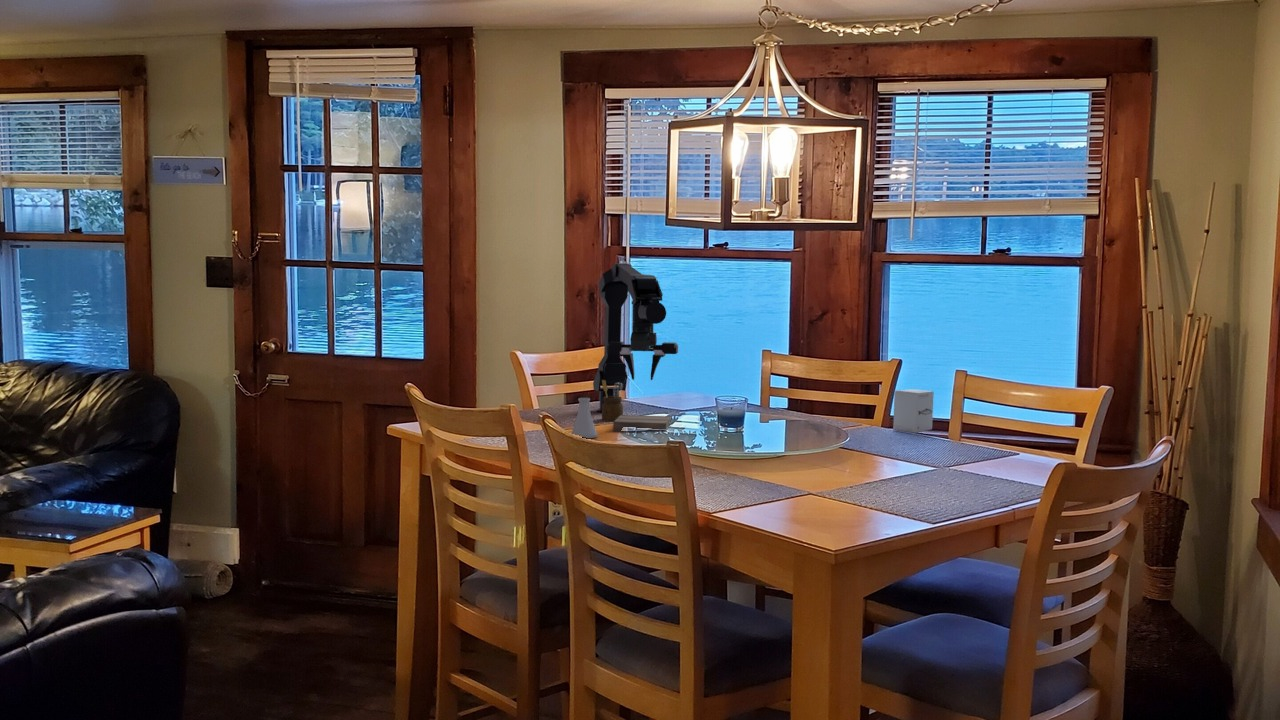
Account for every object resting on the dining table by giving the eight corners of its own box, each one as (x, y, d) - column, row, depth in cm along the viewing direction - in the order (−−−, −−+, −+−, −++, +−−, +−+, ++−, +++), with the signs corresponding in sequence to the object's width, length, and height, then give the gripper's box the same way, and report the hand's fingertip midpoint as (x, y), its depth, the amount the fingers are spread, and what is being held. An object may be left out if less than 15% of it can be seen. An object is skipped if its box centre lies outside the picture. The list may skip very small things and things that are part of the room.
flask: (567, 435, 296) (567, 397, 295) (594, 434, 298) (594, 396, 297) (573, 439, 289) (573, 400, 288) (601, 438, 291) (601, 399, 290)
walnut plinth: (620, 423, 318) (620, 414, 318) (670, 425, 316) (670, 416, 316) (613, 431, 304) (613, 421, 304) (665, 432, 302) (665, 423, 302)
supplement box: (916, 442, 291) (917, 392, 290) (892, 438, 297) (893, 390, 296) (932, 439, 296) (934, 390, 295) (909, 435, 302) (910, 388, 301)
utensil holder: (627, 422, 321) (627, 379, 320) (609, 423, 318) (609, 381, 316) (614, 419, 326) (614, 377, 325) (596, 421, 322) (597, 379, 321)
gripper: (604, 322, 301) (603, 382, 302) (674, 323, 299) (674, 383, 300) (610, 321, 312) (609, 378, 313) (678, 322, 310) (677, 379, 311)
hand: (642, 379), depth 309 cm, fingers open, 5 cm apart
